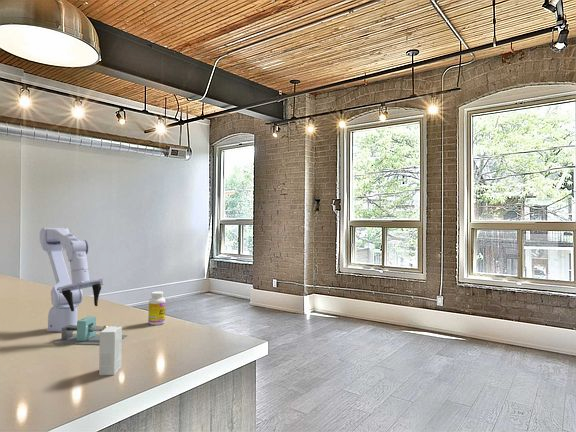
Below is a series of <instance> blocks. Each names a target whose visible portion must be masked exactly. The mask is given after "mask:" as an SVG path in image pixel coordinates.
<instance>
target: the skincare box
mask: <svg viewBox="0 0 576 432" xmlns="http://www.w3.org/2000/svg"><path fill="white" fill-rule="evenodd" d="M108 326H109V327H106V328H105V329H104V330H102V331H99V334H100V345H99V351H98V352H99V353H98V355H99V359H98V360H99V366H98V367H99V368H98V373H99V376H114V375H116V373H118V372H119V370H120V369H122V364H123V363H122V351H123V349H122V348H123V347H122V346H123V345H122V344H123V341H122V340H123V339H122V335H123V326H122V325H115V326H113V325H112V326H111V325H108ZM121 326H122V327H121Z"/></svg>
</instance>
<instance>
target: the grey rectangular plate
mask: <svg viewBox="0 0 576 432" xmlns="http://www.w3.org/2000/svg"><path fill="white" fill-rule="evenodd" d="M126 337H128V335H127V334H122V340H123V339H125V338H126ZM53 344H54V345H55V344H56V345H84V346H85V345H87V346H91V345H92V346H100V333H99V334H97V333H96V334H95V336H93V337H91V338H90V339H88V340H86V341H77V333H73V337H71V338H69V339H67V340H61V339H59V340H56V341H55V342H53Z"/></svg>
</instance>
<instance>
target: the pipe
mask: <svg viewBox="0 0 576 432" xmlns="http://www.w3.org/2000/svg"><path fill="white" fill-rule="evenodd" d="M109 326H110V325H96V326H88V331H96V332H101V331H102V330H104V329H105V328H106V327H109ZM120 326H121V327H122V328H123V326H122V325H120ZM74 331H75V332H77V325H67V326H65V327H63V328H62V332H61V339H60V340H67V339H69V338H71V337H73V334H74Z"/></svg>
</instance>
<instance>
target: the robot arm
mask: <svg viewBox="0 0 576 432" xmlns="http://www.w3.org/2000/svg"><path fill="white" fill-rule="evenodd" d="M39 242H40V246H41V248H42V250H43V251H45V252H46V253H47V256H48V259H49V262H50V265H51V269H52V273H53V276H54V280H55V283H56V284H54V285H53V287H52V288H51V289H50V299H51V304H52V306H51V307H50V309H49V311H48V314H47V329H46V332H61V333H62V328H63V327H65V326H67V325H77V321H78V307H79V306H80V304H81V303H82V302H83V300H84V293H83V292H84V291H83V289H86V288H87V289H88V288H91V287H92V294H93V302H94V303H93V304H94V307H98V305H99V304H98V303H99V297H100V292H101V290H102V286H103V285H105V283H104V279H103V278H99V279H97V278H96V279H92V280H91V278H90V271H89V263H88V256H87V255H88V253H89V244H88V241H87V239H83V240H80V239H79V238H78V237H76V236H75V235H74V233H70V230H69V228H68V227H41V229H40V230H39ZM64 251H65V254H66V257H67V261H68V262H69V266H70V267H69V268H70V274H71V277H70V275H69V271H68V268H67V265H66V261H65V258H64V255H63V252H64Z"/></svg>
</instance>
